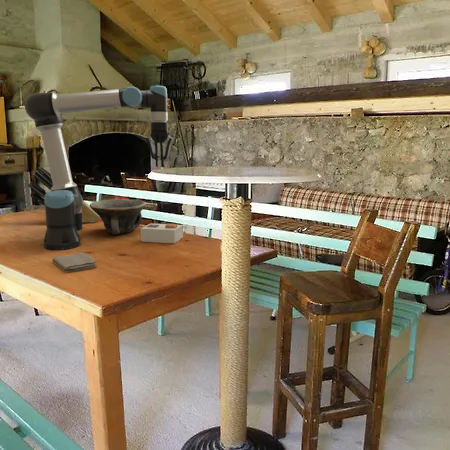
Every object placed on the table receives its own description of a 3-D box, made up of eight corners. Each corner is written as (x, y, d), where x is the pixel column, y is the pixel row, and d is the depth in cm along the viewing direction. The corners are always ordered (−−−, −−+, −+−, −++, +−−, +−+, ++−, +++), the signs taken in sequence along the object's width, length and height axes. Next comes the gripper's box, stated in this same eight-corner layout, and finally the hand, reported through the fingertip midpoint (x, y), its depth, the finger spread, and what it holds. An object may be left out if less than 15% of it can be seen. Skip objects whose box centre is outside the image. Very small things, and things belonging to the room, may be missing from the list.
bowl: (134, 239, 206) (132, 207, 203) (81, 237, 211) (79, 205, 208) (154, 228, 232) (153, 199, 229) (107, 226, 237) (105, 197, 234)
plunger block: (174, 243, 199) (174, 230, 198) (140, 241, 202) (140, 228, 201) (182, 237, 210) (182, 225, 209) (150, 235, 214) (150, 223, 213)
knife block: (32, 222, 245) (28, 165, 239) (99, 219, 256) (96, 164, 250) (30, 226, 235) (25, 167, 229) (100, 222, 245) (97, 166, 239)
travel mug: (79, 231, 224) (77, 191, 220) (64, 231, 224) (62, 191, 220) (84, 228, 231) (82, 189, 227) (70, 227, 231) (67, 189, 228)
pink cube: (174, 235, 202) (174, 225, 201) (165, 235, 203) (165, 225, 202) (177, 233, 206) (177, 224, 206) (168, 233, 207) (168, 223, 206)
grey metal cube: (155, 236, 204) (155, 226, 204) (147, 235, 205) (146, 226, 204) (158, 234, 208) (158, 224, 208) (150, 233, 209) (150, 224, 208)
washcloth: (66, 274, 155) (65, 266, 155) (51, 263, 169) (50, 255, 169) (99, 269, 162) (98, 260, 162) (82, 258, 176) (81, 250, 176)
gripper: (175, 122, 203) (176, 174, 208) (148, 122, 206) (150, 173, 211) (170, 121, 196) (171, 175, 201) (142, 121, 199) (144, 174, 204)
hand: (160, 174), depth 206 cm, fingers closed
